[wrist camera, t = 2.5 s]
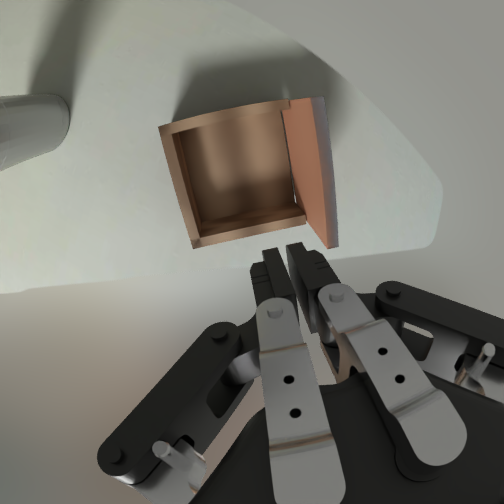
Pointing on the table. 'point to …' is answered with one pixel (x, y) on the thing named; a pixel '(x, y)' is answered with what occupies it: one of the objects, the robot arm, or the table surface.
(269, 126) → the box
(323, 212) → the panel
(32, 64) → the table surface
